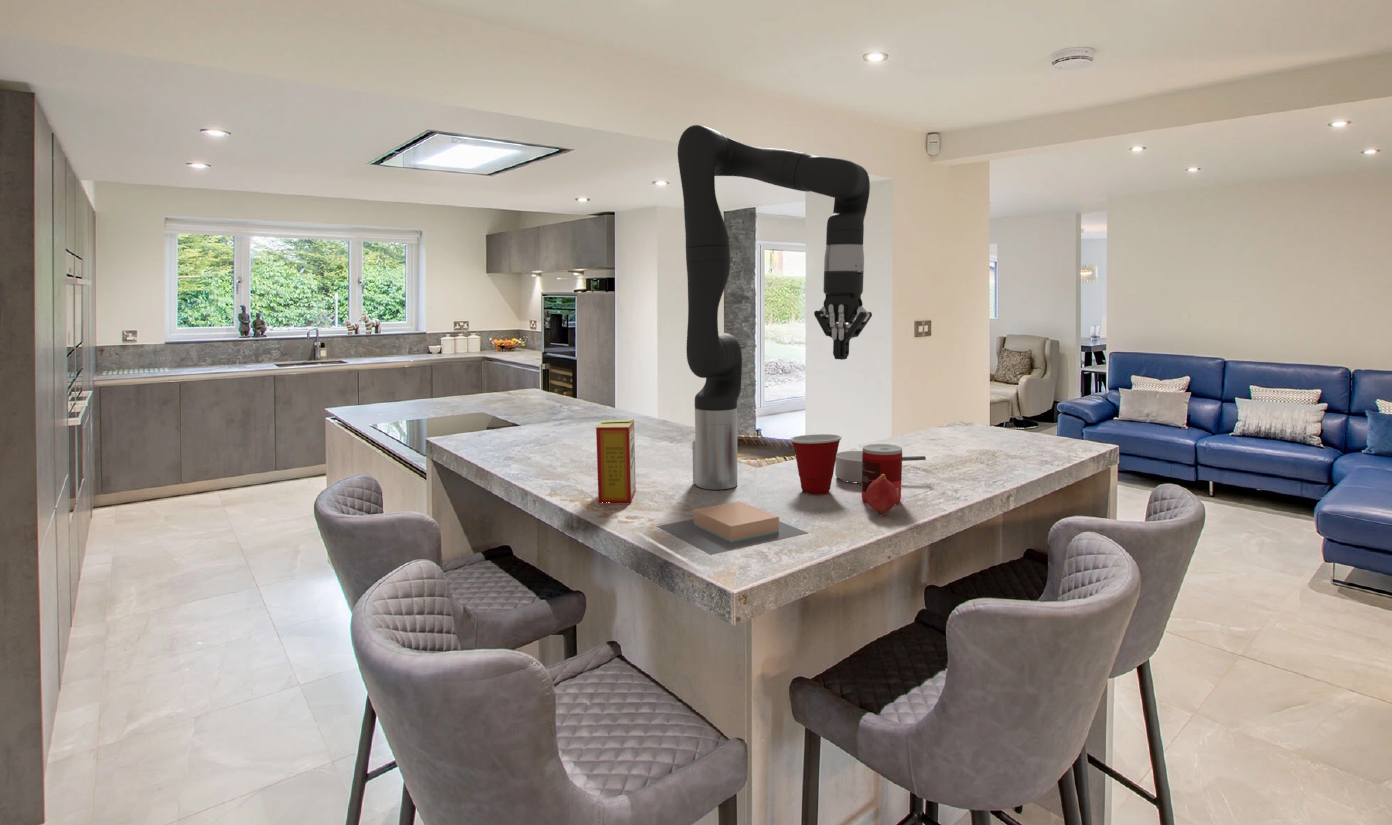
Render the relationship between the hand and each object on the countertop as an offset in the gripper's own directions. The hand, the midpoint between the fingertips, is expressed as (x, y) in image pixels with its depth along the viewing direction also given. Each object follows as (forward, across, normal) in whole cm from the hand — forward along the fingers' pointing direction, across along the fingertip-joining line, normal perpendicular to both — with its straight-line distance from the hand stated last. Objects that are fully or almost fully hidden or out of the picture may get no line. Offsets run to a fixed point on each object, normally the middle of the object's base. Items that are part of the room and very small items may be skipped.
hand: (840, 359), depth 147 cm
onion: (+29, +12, -2) cm, 31 cm away
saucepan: (+29, -5, +20) cm, 36 cm away
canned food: (+29, +6, +6) cm, 30 cm away
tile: (+27, +2, -24) cm, 36 cm away
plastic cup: (+29, -8, +2) cm, 30 cm away
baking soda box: (+30, -32, -32) cm, 54 cm away
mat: (+29, +1, -30) cm, 42 cm away
